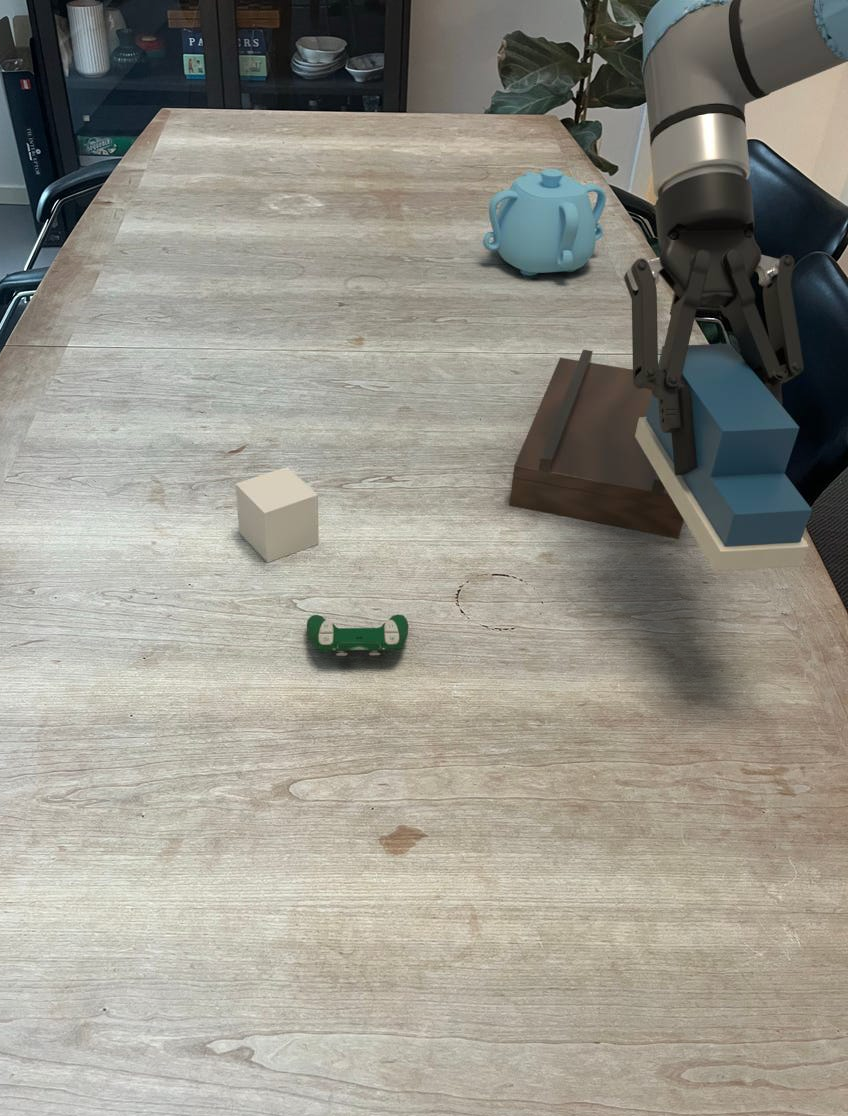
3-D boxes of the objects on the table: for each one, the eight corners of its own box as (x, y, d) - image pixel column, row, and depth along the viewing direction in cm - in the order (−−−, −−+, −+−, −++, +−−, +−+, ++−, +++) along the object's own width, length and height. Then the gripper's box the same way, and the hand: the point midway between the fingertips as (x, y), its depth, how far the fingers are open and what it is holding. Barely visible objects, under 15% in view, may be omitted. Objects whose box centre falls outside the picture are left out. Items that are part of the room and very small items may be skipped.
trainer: (634, 436, 94) (654, 343, 88) (708, 433, 94) (733, 340, 88) (714, 572, 79) (745, 471, 73) (801, 567, 79) (839, 466, 73)
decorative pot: (467, 265, 160) (475, 173, 151) (520, 234, 170) (530, 146, 160) (560, 293, 153) (574, 198, 144) (610, 259, 162) (626, 168, 153)
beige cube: (267, 563, 103) (264, 513, 99) (239, 532, 107) (234, 483, 103) (319, 543, 105) (318, 494, 101) (289, 515, 109) (287, 466, 105)
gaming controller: (307, 656, 95) (305, 655, 89) (307, 615, 96) (305, 611, 90) (406, 655, 96) (412, 654, 90) (406, 614, 96) (411, 610, 90)
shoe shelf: (700, 419, 126) (713, 370, 121) (678, 538, 107) (693, 486, 103) (554, 394, 130) (561, 345, 125) (508, 505, 111) (515, 452, 107)
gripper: (789, 209, 89) (813, 473, 88) (575, 214, 87) (597, 484, 86) (837, 164, 82) (864, 453, 81) (603, 169, 80) (628, 464, 79)
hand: (726, 468), depth 83 cm, fingers closed on trainer, 6 cm apart
